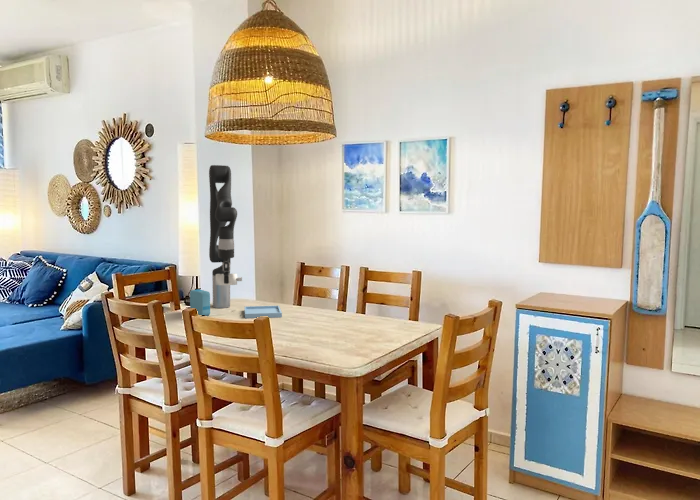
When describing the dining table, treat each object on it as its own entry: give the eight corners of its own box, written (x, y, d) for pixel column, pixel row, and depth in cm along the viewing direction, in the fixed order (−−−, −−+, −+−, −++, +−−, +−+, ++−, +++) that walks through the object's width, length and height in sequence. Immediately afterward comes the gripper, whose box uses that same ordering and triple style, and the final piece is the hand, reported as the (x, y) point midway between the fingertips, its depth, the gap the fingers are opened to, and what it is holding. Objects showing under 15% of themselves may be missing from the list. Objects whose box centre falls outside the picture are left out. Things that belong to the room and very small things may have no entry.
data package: (210, 315, 271) (210, 292, 269) (202, 317, 267) (202, 293, 266) (198, 311, 279) (197, 288, 278) (190, 313, 276) (189, 289, 275)
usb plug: (215, 285, 264) (215, 275, 264) (215, 283, 269) (215, 273, 268) (242, 284, 267) (242, 274, 266) (241, 283, 271) (241, 273, 271)
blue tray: (244, 310, 284) (244, 306, 283) (279, 309, 287) (279, 305, 287) (245, 318, 266) (245, 313, 266) (281, 317, 270) (281, 312, 269)
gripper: (218, 246, 272) (219, 280, 274) (217, 249, 258) (218, 285, 260) (234, 246, 273) (234, 280, 275) (234, 249, 259) (234, 284, 261)
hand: (226, 282), depth 267 cm, fingers closed on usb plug, 4 cm apart
